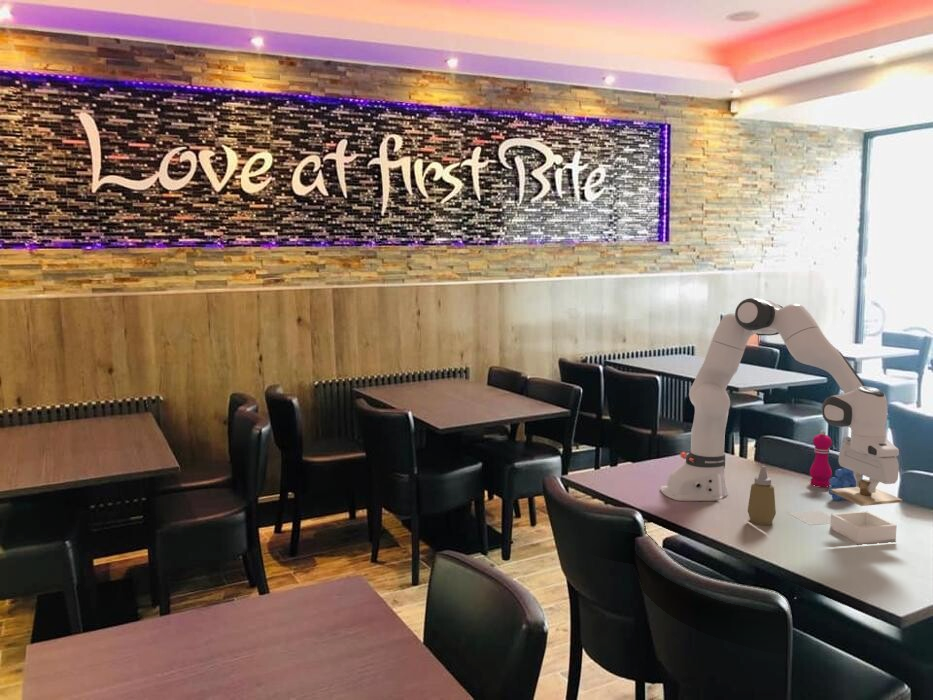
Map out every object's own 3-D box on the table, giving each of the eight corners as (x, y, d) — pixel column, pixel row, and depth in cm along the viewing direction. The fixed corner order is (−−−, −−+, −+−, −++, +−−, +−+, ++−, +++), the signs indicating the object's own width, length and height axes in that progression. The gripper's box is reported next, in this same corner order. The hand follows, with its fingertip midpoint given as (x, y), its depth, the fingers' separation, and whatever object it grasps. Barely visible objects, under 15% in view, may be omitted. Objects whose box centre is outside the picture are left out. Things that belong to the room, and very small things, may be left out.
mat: (809, 526, 220) (809, 524, 220) (787, 514, 231) (787, 512, 231) (841, 524, 222) (842, 522, 222) (818, 512, 233) (818, 510, 232)
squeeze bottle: (762, 529, 218) (765, 471, 216) (741, 521, 225) (743, 465, 223) (781, 525, 222) (783, 468, 219) (759, 517, 229) (761, 461, 227)
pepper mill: (833, 488, 256) (836, 433, 254) (812, 487, 258) (814, 432, 255) (828, 482, 263) (830, 428, 261) (806, 481, 265) (809, 427, 262)
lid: (861, 506, 204) (862, 489, 203) (830, 491, 216) (831, 476, 216) (902, 502, 206) (902, 485, 205) (869, 488, 219) (870, 472, 218)
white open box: (857, 545, 206) (858, 528, 205) (830, 529, 217) (831, 513, 217) (895, 542, 207) (896, 525, 207) (866, 527, 219) (866, 511, 219)
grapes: (844, 494, 249) (846, 460, 248) (861, 500, 243) (863, 466, 241) (818, 498, 245) (820, 464, 244) (834, 505, 239) (836, 469, 238)
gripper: (834, 435, 219) (832, 480, 220) (883, 453, 199) (881, 501, 200) (852, 434, 220) (850, 478, 221) (904, 451, 200) (901, 500, 201)
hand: (865, 489), depth 211 cm, fingers closed on lid, 3 cm apart
